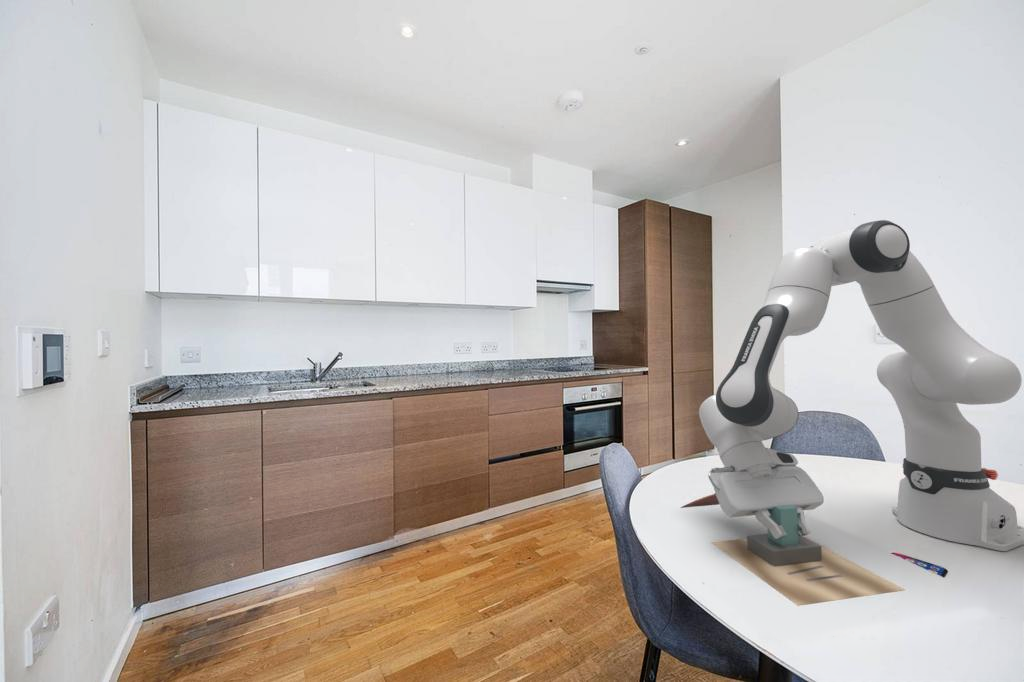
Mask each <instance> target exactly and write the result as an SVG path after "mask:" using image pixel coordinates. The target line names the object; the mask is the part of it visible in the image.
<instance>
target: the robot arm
mask: <svg viewBox="0 0 1024 682" xmlns="http://www.w3.org/2000/svg"><path fill="white" fill-rule="evenodd" d="M910 247H911V244H910V239H909V236H908V234H907V232H906V231H905V230H904V228H902V227H901V226H900V225H898V224H896V223H894V222H892V221H889V220H886V219H881V220H873V221H869V222H866V223H861V224H860V225H858V226H856V227H853V228H850V229H846V230H843V231H840V232H839V233H837V234H833V235H831V236H830V237H829V238H827V239H825V240H822V241H820V242H818V243H816V244H815V245H810V246H804V247H803V246H802V247H797V248H794V249H791V250H790V251H788V252H787V253H785V254H784V255H783V256H782V258H781V259H780V261H779V263H778V264H777V267H776V269H775V271H774V273H773V275H772V278H771V280H770V284H769V286H768V290H767V293H766V297H765V299H764V302H763V305H762V307H761V308H759V310H758V311H757V312H756V314H754V317H753V318H752V321H751V323H750V325H749V327H748V330H747V331H746V333H745V337H744V339H743V341H742V342H741V346H740V348H739V351H738V353H737V356H736V359H735V360H734V363H733V365H732V367H731V369H730V370H729V372H728V373H727V374H726V375H725V377H724V378H723V379H722V381H721V382H720V384H719V386H718V387H717V389H716V393H715V394H713V395H711V396H710V395H709V397H707V398H706V399H705V400H703V402H702V403H701V404H700V406H699V408H698V416H699V420H700V422H701V425H702V427H703V429H704V430H703V431H704V432H705V433H706V435H707V437H708V439H709V441H710V442H711V444H712V446H714V448H716V450H717V452H718V455H719V458H720V459H719V460H721V463H722V464H723V467H713V468H711V470H710V471H709V472H708V480H709V482H710V483H711V485H712V487H713V491H714V494H715V493H716V496H717V499H718V501H719V504H720V505H719V506H720V508H721V510H722V512H723V513H724V514H725V515H726V516H727V517H729V518H738V517H750V516H755V518H756V520H757V522H759V523H760V524H762V526H764V527H765V528H766V529H767V530H768V529H769V530H770V532H771V533H772V535H773V537H774V538H775V539H779V538H784V537H786V536H787V533H786V531H784V528H783V527H782V525H777V524H776V523H775V522H774V521H773V520H772V519H771V518H770V517H769V516H770V513H769V512H768V510H767V509H773V508H774V506H781V505H792V506H794V507H796V508H797V515H798V536H804V537H806V536H808V535H810V534H811V531H810V528H809V527H808V525H807V524H806V518H805V511H809V510H812V511H813V510H815V509H817V508H818V507H820V506H822V505H823V504H824V496H823V494H822V492H821V490H820V489H819V487H818V486H817V484H816V483H815V482H814V480H813V479H812V478H811V477H810V475H809V474H808V472H806V471H805V470H804V469H803V468H801V467H799V466H797V465H798V464H799V461H798V459H797V457H796V456H794V455H793V454H791V453H788V452H783V451H779V450H776V449H772V448H769V447H766V446H765V445H764V443H763V441H767V440H770V439H773V438H777V437H779V436H782V435H784V434H787V433H789V432H790V431H792V430H793V428H794V427H795V426H796V424H797V423H798V421H799V409H798V406H797V404H796V403H795V401H794V400H793V399H792V398H791V397H789V396H787V395H786V394H784V393H783V392H781V391H780V390H778V389H776V388H775V387H773V386H772V384H771V380H770V374H771V371H772V368H773V365H774V363H775V361H776V358H777V356H778V353H779V350H780V348H781V345H782V343H783V341H785V339H786V338H787V337H792V336H793V337H794V336H795V337H797V336H802V335H806V334H809V333H811V332H812V331H814V330H815V329H817V328H819V326H820V324H821V322H822V321H823V319H824V317H825V314H826V312H827V308H828V305H829V300H830V296H831V292H832V287H834V286H835V287H836V286H840V285H845V284H850V283H853V282H856V283H857V284H859V286H860V288H861V293H862V294H863V297H864V299H865V302H866V304H867V306H868V308H869V311H870V312H871V315H872V316H873V318H874V321H875V322H876V325H877V327H878V328H879V330H880V332H881V334H882V335H883V336H884V337H885V338H886V339H887V340H889V341H891V342H893V343H895V344H897V346H899V347H900V348H901V349H903V350H904V351H900V352H895V353H891V354H889V355H887V356H885V357H883V358H882V359H881V360H880V362H879V363H878V364H877V368H876V376H877V379H878V381H879V382H880V384H881V385H882V386H883V387H884V388H885V389H887V391H888V392H889V393H890V395H891V396H892V398H893V401H894V402H895V405H896V406H897V408H898V412H899V414H900V417H901V419H902V423H903V424H902V425H903V430H904V442H905V443H904V444H905V457H904V458H903V461H902V470H903V471H902V472H903V475H904V476H905V477H904V478H901V479H900V480H899V485H898V492H897V493H898V494H897V503H896V504H897V505H896V506H893V507H892V510H891V511H892V513H893V514H895V515H896V519H897V521H898V522H899V523H900V524H901V525H903V526H905V527H907V528H909V529H911V530H914V531H916V532H918V533H922V534H925V535H928V536H931V537H934V538H938V539H941V540H946V541H950V542H955V543H959V544H965V545H971V546H977V547H978V546H979V547H983V548H986V549H991V550H995V551H999V552H1008V551H1010V550H1012V549H1015V548H1018V547H1019V546H1022V545H1024V527H1023V526H1020V525H1018V517H1017V510H1016V508H1015V506H1014V505H1013V504H1012V503H1010V502H1009V501H1008V500H1007V499H1005V498H1004V497H1002V496H1001V495H999V494H998V493H997V492H995V491H994V490H993V489H991V488H990V487H991V485H990V482H989V479H990V480H992V481H995V480H996V481H997V479H998V478H999V477H998V476H999V474H998V472H997V470H996V469H988V468H986V467H983V466H982V445H981V443H982V441H981V434H980V431H979V430H978V428H976V427H975V426H974V424H972V423H970V421H968V420H967V419H966V418H965V416H964V415H963V414H962V412H961V410H960V409H959V406H958V404H961V405H969V406H970V405H971V406H972V405H975V406H977V405H993V404H1002V403H1004V402H1007V401H1009V400H1011V399H1012V398H1013V397H1014V396H1016V395H1017V394H1018V392H1019V391H1020V389H1021V387H1022V383H1023V381H1022V380H1023V379H1022V374H1021V371H1020V369H1019V367H1018V366H1017V365H1016V364H1015V363H1014V362H1013V360H1012V361H1011V360H1010V359H1009V358H1007V357H1004V356H1002V355H1000V354H997V353H995V352H993V351H992V350H989V349H988V348H987V347H985V346H984V345H983V344H981V343H979V342H978V341H977V340H975V339H974V338H973V337H972V336H971V335H970V334H969V333H967V331H966V330H965V329H964V328H962V327H961V325H959V323H958V322H957V321H956V320H955V319H954V317H953V316H952V314H951V313H950V311H949V310H948V307H947V305H945V302H944V301H943V298H942V297H941V295H940V292H938V290H937V287H936V285H935V284H934V281H933V279H932V278H931V276H930V274H929V273H928V271H927V270H926V269H925V267H924V266H923V264H922V263H921V262H920V260H919V259H918V258H917V257H916V255H914V254H913V253H912V252H911V250H910Z"/></svg>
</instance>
